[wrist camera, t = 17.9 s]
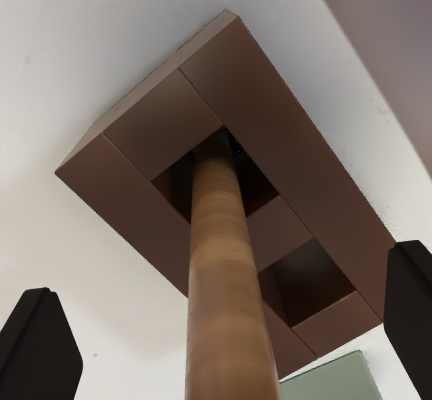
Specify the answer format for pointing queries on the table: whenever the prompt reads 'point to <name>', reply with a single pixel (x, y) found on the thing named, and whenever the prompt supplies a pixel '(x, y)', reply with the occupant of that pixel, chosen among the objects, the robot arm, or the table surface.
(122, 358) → the table surface
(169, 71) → the holder
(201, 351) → the stirring stick
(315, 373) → the planter
